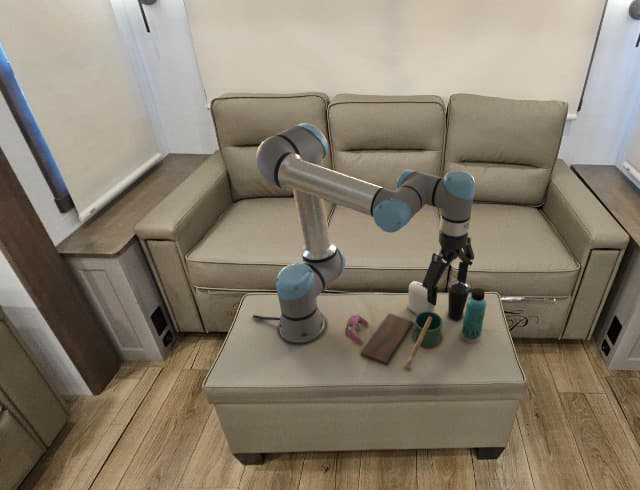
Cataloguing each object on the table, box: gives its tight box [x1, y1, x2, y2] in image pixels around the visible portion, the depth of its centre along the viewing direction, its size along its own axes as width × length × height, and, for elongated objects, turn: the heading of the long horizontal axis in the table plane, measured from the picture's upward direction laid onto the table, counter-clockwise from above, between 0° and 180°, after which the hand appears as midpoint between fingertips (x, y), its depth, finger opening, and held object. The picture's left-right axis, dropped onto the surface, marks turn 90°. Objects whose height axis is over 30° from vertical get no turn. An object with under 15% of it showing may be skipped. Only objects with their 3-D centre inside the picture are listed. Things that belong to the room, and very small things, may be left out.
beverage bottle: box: [461, 287, 487, 341], centre depth 138 cm, size 6×7×20 cm
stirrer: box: [404, 316, 433, 370], centre depth 133 cm, size 1×13×13 cm
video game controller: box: [344, 313, 369, 345], centre depth 142 cm, size 10×5×7 cm, turn 168°
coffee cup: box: [413, 311, 443, 348], centre depth 140 cm, size 9×9×8 cm
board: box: [360, 313, 413, 365], centre depth 142 cm, size 9×20×1 cm, turn 155°
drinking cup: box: [447, 278, 472, 321], centre depth 145 cm, size 8×8×20 cm
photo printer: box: [407, 280, 435, 316], centre depth 149 cm, size 10×4×12 cm, turn 46°
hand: (446, 291), depth 123 cm, fingers open, 13 cm apart
